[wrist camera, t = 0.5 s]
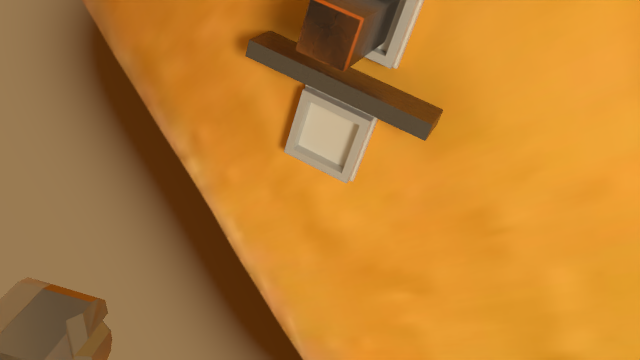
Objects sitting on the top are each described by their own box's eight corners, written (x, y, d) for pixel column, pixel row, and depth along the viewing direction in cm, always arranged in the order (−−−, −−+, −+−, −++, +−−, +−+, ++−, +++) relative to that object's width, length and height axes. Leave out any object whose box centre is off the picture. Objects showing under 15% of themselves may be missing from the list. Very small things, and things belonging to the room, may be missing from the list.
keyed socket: (309, 80, 57) (301, 86, 56) (379, 114, 56) (373, 120, 54) (289, 146, 61) (281, 152, 60) (354, 179, 60) (348, 186, 58)
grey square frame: (349, -50, 51) (341, -48, 49) (430, -16, 49) (425, -13, 48) (323, 33, 55) (315, 37, 53) (398, 67, 53) (392, 72, 52)
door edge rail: (270, 30, 57) (249, 39, 53) (443, 109, 53) (432, 124, 50) (266, 46, 58) (245, 55, 54) (436, 125, 54) (425, 140, 51)
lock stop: (358, -21, 51) (310, -2, 42) (401, -3, 50) (360, 20, 42) (344, 24, 53) (295, 50, 45) (385, 42, 52) (343, 72, 44)
